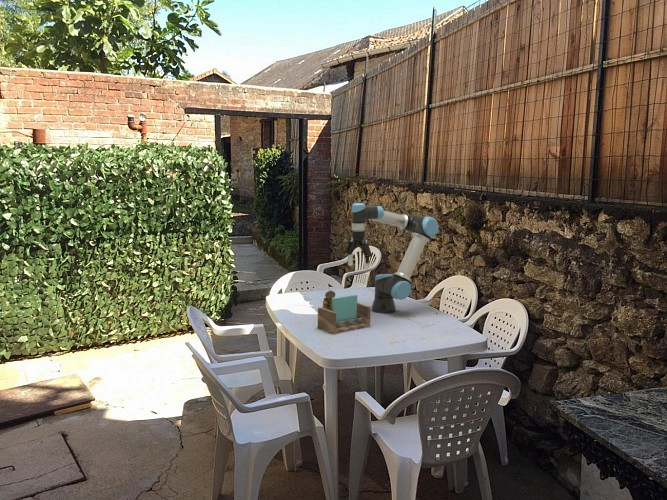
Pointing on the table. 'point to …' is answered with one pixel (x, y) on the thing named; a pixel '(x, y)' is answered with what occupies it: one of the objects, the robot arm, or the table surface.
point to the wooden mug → (328, 300)
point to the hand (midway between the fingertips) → (358, 267)
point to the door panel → (345, 307)
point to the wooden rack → (330, 325)
